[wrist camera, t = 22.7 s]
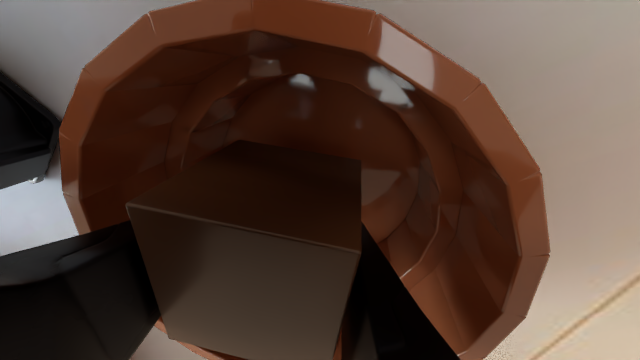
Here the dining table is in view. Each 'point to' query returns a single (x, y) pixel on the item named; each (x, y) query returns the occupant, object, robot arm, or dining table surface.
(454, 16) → the dining table surface
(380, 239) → the bowl
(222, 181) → the block
